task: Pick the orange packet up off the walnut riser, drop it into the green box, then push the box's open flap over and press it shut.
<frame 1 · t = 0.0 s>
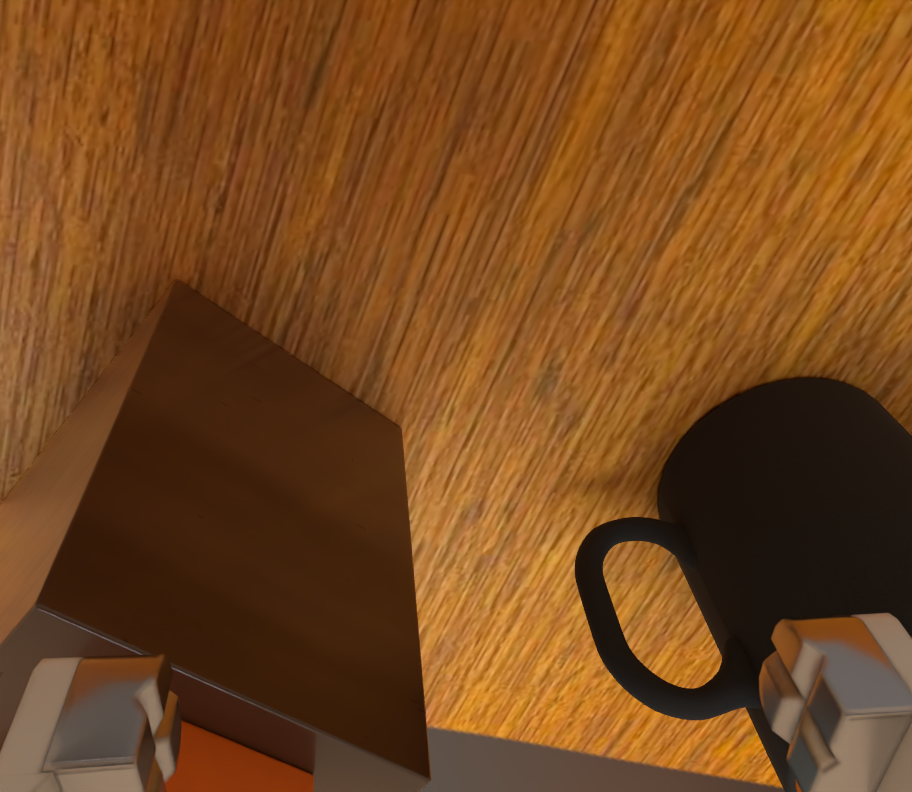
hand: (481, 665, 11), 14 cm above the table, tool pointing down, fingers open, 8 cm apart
mug: (720, 479, 29), on the table
riser: (200, 467, 26), on the table
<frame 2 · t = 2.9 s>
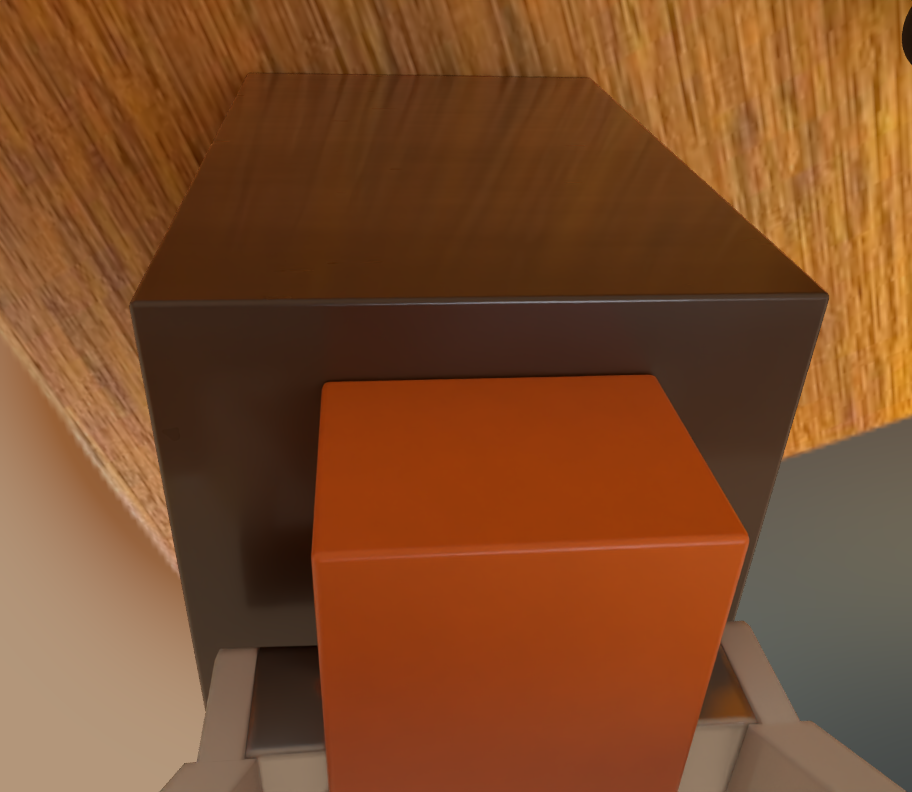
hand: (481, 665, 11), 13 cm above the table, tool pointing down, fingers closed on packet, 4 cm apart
riser: (420, 274, 22), on the table
packet: (476, 615, 12), point 12 cm above the table, touching gripper, riser
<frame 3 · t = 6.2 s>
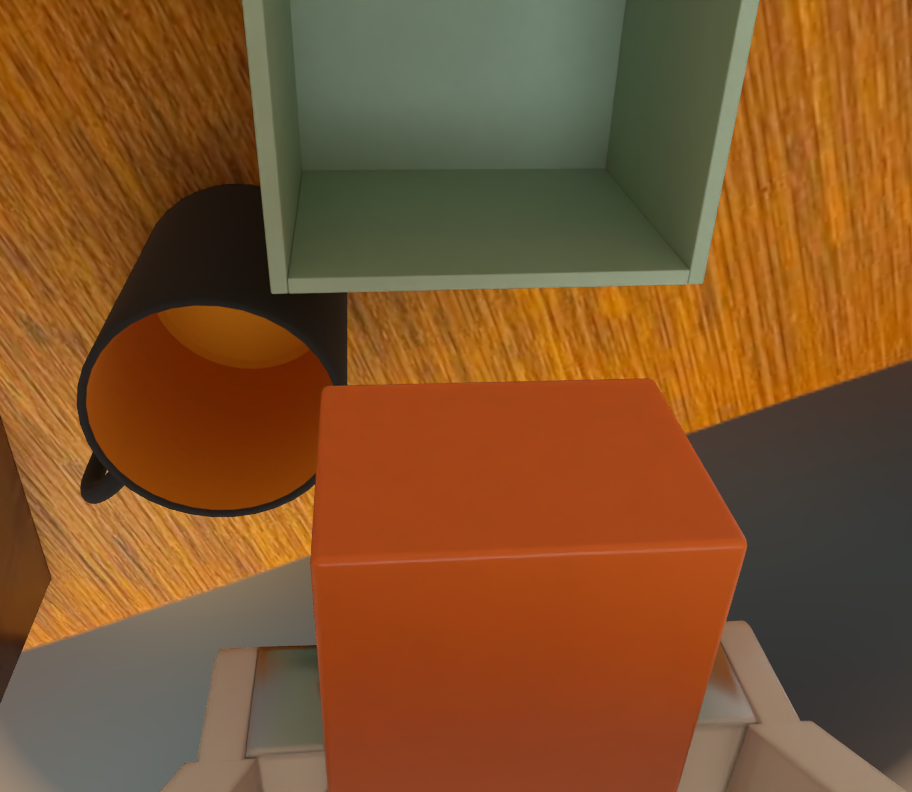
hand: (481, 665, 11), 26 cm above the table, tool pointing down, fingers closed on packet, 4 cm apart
mug: (217, 305, 36), on the table
packet: (475, 618, 12), point 25 cm above the table, touching gripper
when the fingers open (12 cm above the table, at t = 9.7 s): packet drops 8 cm and tips over, resting on green box.
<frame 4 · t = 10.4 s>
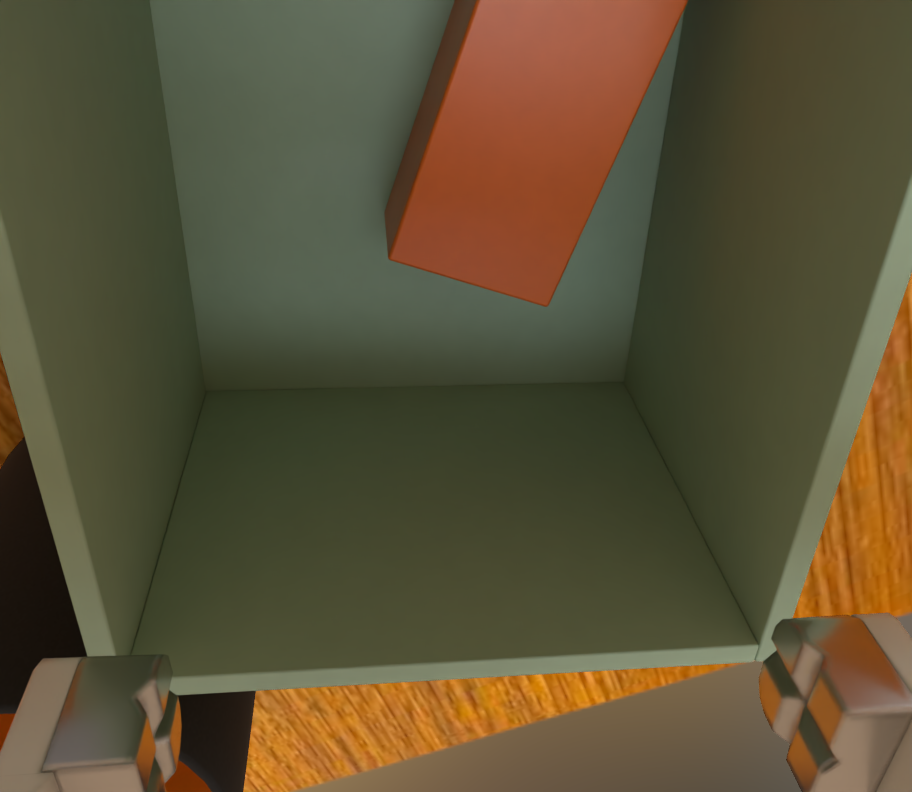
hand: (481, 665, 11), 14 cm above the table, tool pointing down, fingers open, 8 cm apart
mug: (103, 541, 27), on the table
green box: (422, 134, 21), on the table
packet: (537, 117, 18), point 3 cm above the table, tilted 180°, touching green box
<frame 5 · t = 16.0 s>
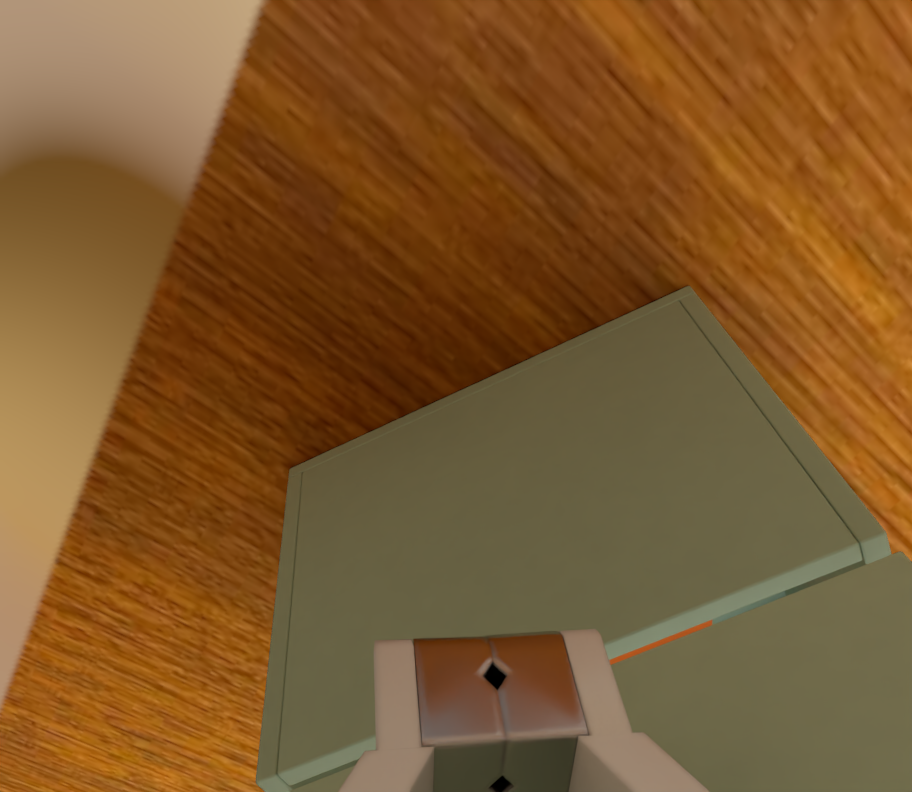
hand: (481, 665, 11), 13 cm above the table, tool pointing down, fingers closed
green box: (572, 545, 29), on the table
packet: (649, 570, 25), point 3 cm above the table, tilted 180°, touching green box
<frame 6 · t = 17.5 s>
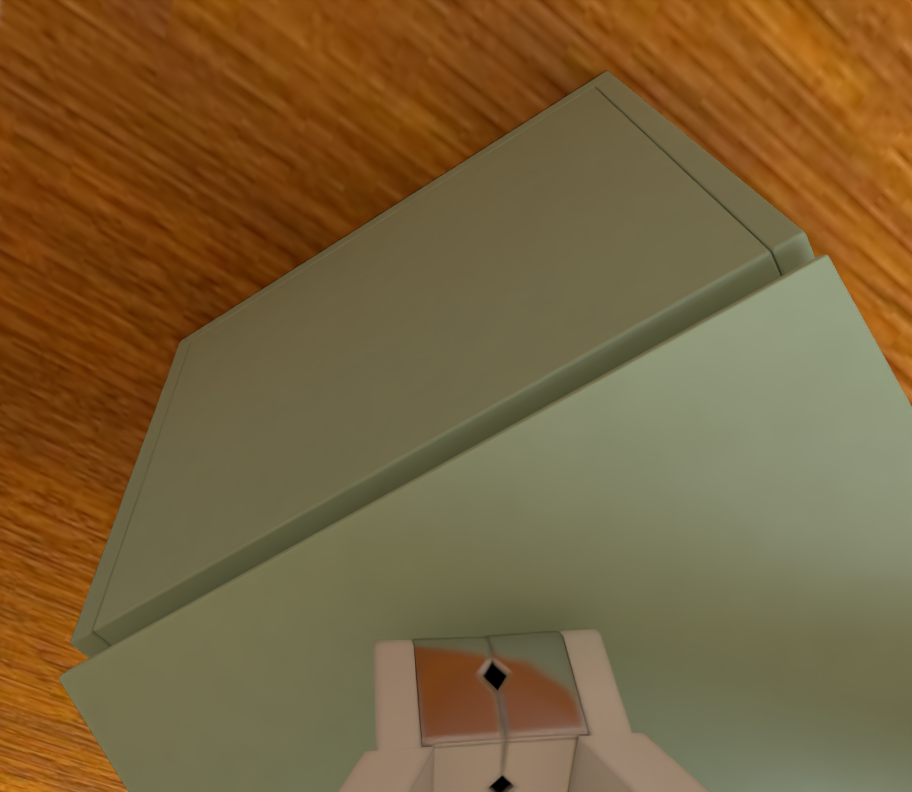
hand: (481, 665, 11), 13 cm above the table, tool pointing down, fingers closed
flap: (530, 703, 12), point 13 cm above the table, hinge at 28.0°
green box: (521, 415, 25), on the table
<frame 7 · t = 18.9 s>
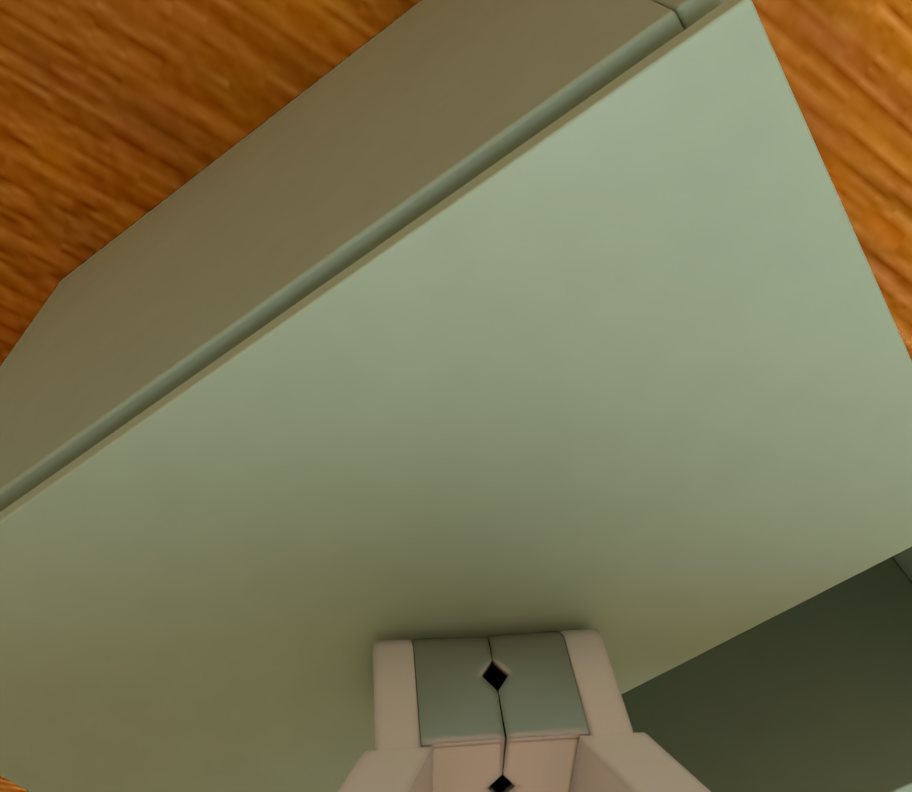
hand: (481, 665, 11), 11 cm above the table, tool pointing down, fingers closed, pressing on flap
flap: (402, 577, 11), point 11 cm above the table, hinge at 1.1°, touching gripper
green box: (468, 353, 22), on the table
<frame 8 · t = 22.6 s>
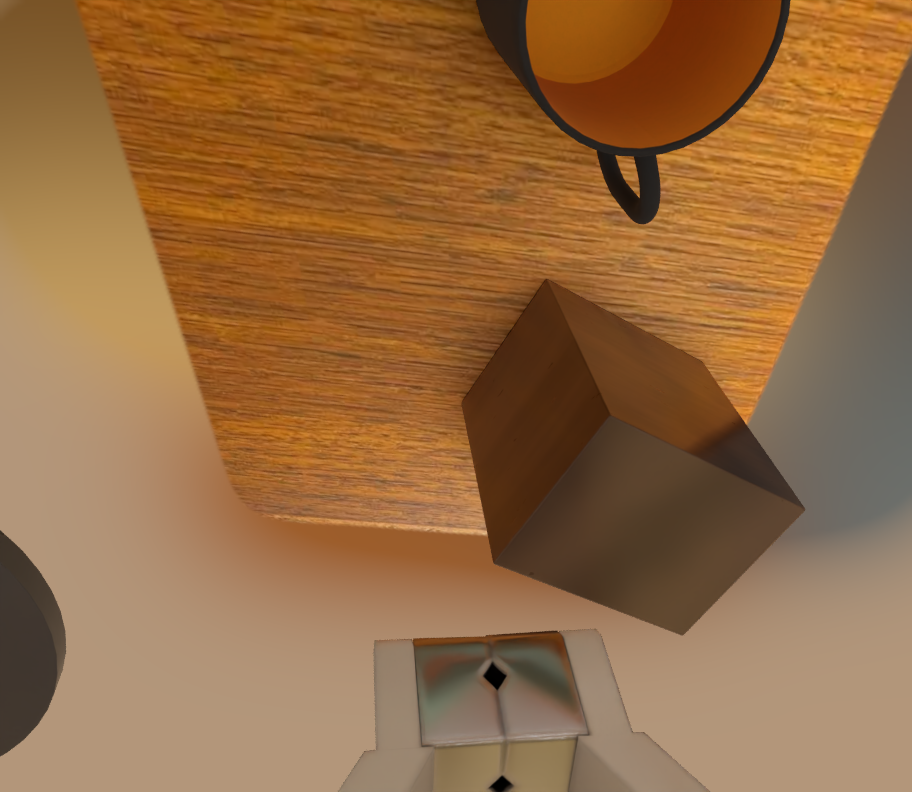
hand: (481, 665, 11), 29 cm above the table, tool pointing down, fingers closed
mug: (581, 26, 35), on the table
riser: (582, 382, 44), on the table
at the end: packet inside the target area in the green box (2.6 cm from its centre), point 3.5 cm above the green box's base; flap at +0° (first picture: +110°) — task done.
